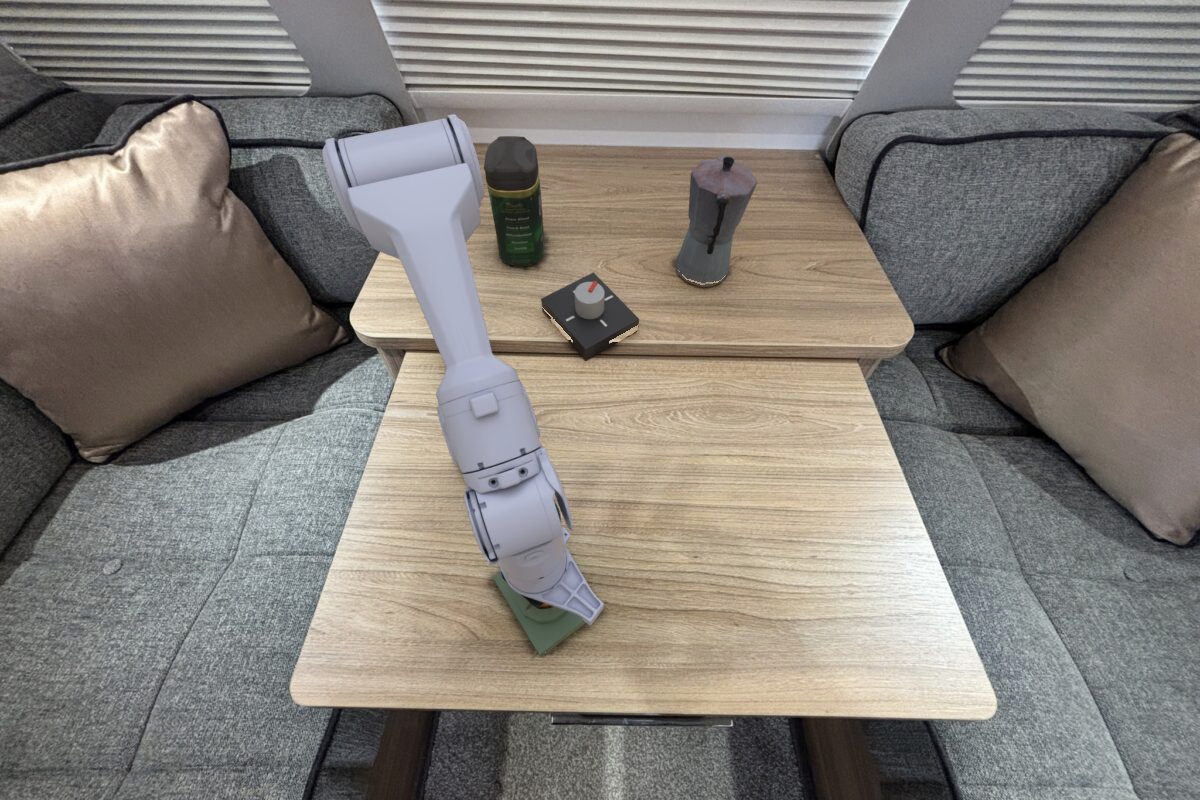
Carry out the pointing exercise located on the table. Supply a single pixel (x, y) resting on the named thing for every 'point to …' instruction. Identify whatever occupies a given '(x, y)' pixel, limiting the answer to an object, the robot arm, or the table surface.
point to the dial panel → (589, 332)
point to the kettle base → (540, 619)
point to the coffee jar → (515, 199)
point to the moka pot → (714, 218)
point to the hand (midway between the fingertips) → (542, 584)
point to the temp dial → (589, 300)
